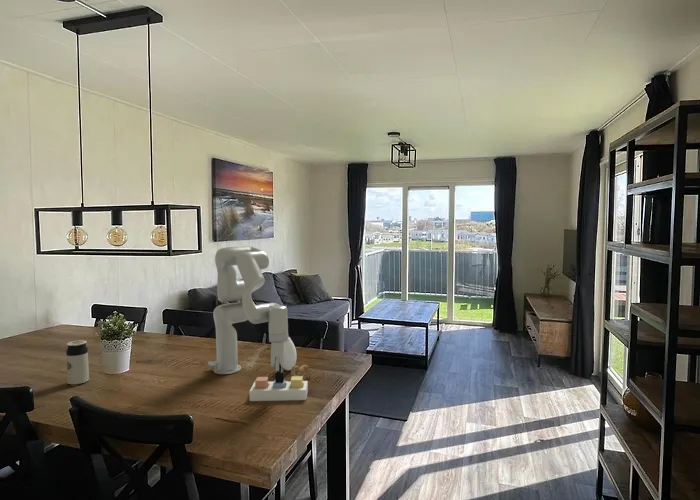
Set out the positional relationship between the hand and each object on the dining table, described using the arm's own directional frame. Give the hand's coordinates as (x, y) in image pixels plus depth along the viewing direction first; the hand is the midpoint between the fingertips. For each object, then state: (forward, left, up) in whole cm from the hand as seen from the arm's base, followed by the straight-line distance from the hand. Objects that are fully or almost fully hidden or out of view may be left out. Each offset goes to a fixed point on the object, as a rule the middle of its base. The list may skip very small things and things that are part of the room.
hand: (279, 381), depth 174 cm
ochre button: (+7, 0, -3) cm, 7 cm away
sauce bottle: (0, +31, -6) cm, 32 cm away
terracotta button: (-7, 0, -3) cm, 8 cm away
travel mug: (-91, +19, -6) cm, 93 cm away
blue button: (0, 0, -4) cm, 4 cm away
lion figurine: (+7, +14, -6) cm, 17 cm away
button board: (0, 0, -6) cm, 6 cm away
